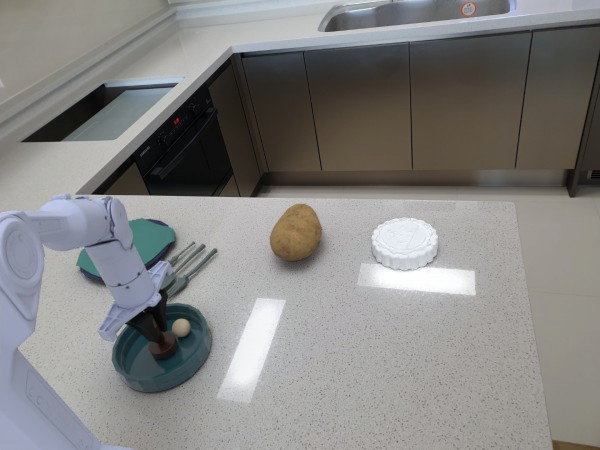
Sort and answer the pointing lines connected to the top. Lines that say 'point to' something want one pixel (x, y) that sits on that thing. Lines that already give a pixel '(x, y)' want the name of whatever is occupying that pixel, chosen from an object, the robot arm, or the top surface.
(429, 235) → the mooncake
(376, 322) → the top surface
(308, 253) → the potato
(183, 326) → the dough ball
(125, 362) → the bowl
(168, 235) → the cutlery set
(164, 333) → the wooden pestle
